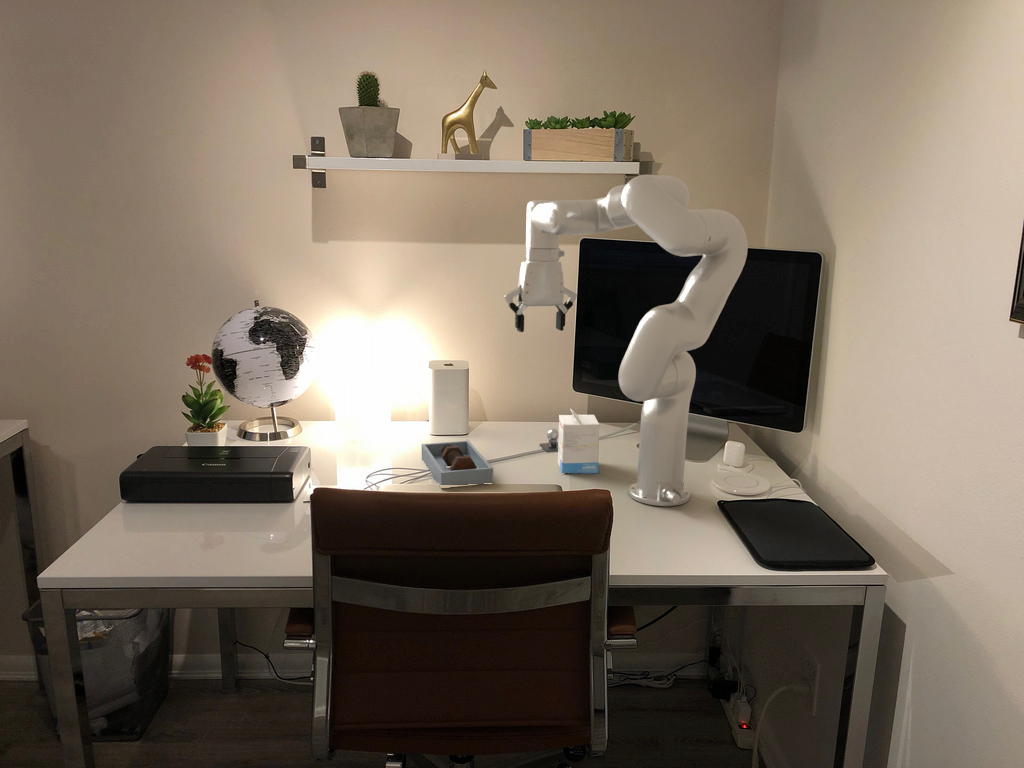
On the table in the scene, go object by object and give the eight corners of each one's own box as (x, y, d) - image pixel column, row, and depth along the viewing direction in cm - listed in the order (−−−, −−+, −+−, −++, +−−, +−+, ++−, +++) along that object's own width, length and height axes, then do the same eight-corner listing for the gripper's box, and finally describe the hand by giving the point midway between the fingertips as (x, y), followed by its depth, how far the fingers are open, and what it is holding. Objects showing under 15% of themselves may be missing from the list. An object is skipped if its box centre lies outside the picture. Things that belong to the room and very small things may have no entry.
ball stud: (565, 450, 203) (566, 430, 202) (546, 452, 201) (547, 432, 200) (558, 444, 207) (559, 425, 206) (539, 445, 206) (540, 426, 205)
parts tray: (492, 484, 179) (492, 468, 178) (441, 488, 176) (441, 472, 175) (468, 454, 198) (468, 440, 197) (421, 458, 195) (421, 444, 194)
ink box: (598, 474, 187) (601, 417, 183) (561, 474, 186) (563, 417, 183) (592, 461, 195) (594, 406, 192) (557, 461, 194) (558, 406, 191)
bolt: (451, 465, 194) (467, 485, 180) (432, 457, 192) (448, 476, 178) (463, 443, 194) (480, 462, 180) (444, 434, 192) (461, 452, 178)
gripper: (571, 254, 194) (568, 326, 198) (500, 254, 189) (499, 329, 193) (583, 257, 187) (580, 331, 191) (510, 257, 182) (509, 334, 186)
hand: (540, 330), depth 192 cm, fingers open, 9 cm apart
